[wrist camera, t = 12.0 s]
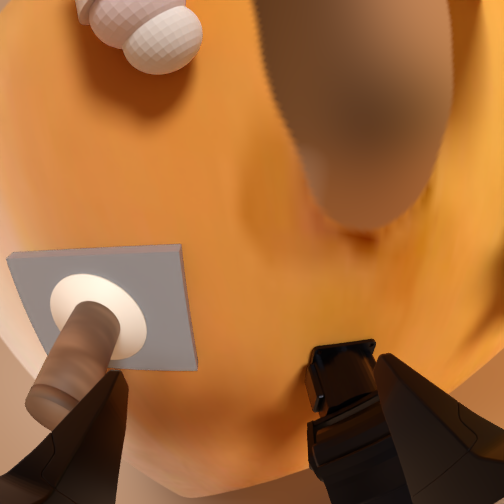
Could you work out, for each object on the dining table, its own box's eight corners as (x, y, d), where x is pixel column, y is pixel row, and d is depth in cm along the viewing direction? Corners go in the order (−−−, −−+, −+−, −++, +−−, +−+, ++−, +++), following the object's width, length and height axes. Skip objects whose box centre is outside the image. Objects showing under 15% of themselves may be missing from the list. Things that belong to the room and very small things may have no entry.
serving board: (181, 243, 21) (178, 253, 20) (198, 361, 26) (197, 373, 25) (12, 252, 20) (4, 260, 18) (54, 353, 25) (49, 363, 24)
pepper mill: (127, 316, 22) (92, 422, 13) (113, 349, 23) (84, 446, 14) (77, 291, 20) (22, 387, 11) (69, 327, 22) (26, 417, 13)
